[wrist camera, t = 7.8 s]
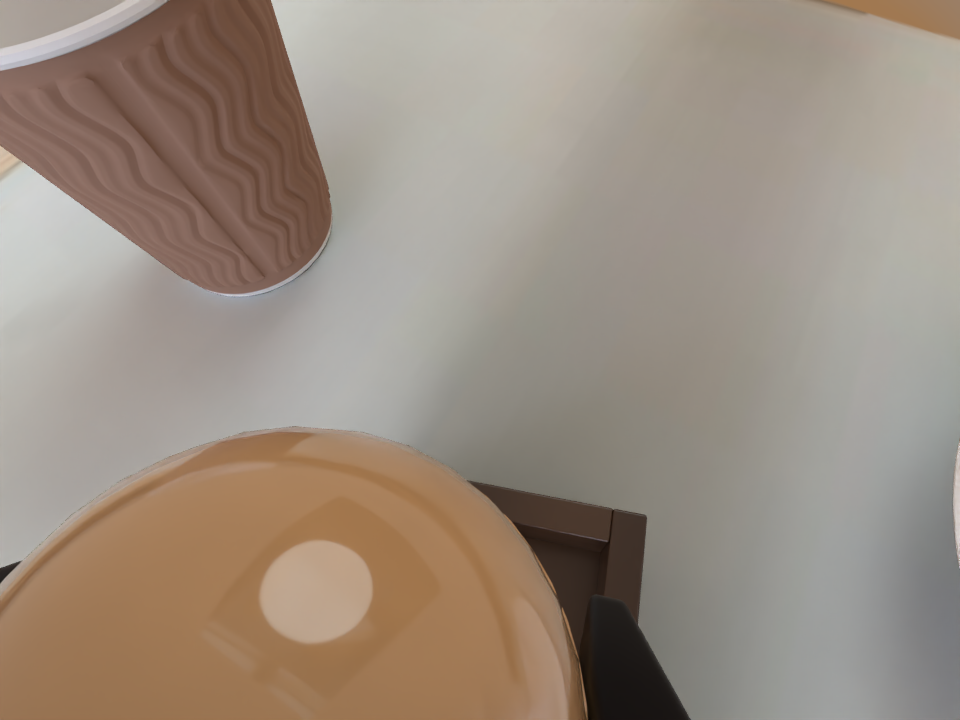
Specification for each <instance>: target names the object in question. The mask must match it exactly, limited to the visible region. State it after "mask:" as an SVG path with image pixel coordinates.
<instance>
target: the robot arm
mask: <svg viewBox="0 0 960 720" xmlns="http://www.w3.org/2000/svg"><path fill="white" fill-rule="evenodd" d="M22 561H23V560H22ZM22 561H19V562H16V563H14V564H11V565H8V566H5V567H2V568H0V584H1V582H2V581H3V580H4V579H5V578H6V577H7V576H8V575H9V574H10V573H11V572H12V571H13V570H14V569H15V568H16V567H17V566H18V565H19V564H20V563H21V562H22ZM579 662H580V667H581V673H582V679H583V685H584V691H585V697H586V703H587V716H588V720H691V719H690V718H689V716H688V714H687V712H686V710H685V709H684V707H683V705H682V703H681V701H680V700H679V698H678V696H677V694H676V692H675V691H674V689H673V687H672V685H671V683H670V682H669V680H668V678H667V676H666V674H665V673H664V671H663V669H662V667H661V666H660V664H659V662H658V660H657V658H656V657H655V655H654V653H653V651H652V649H651V648H650V646H649V644H648V642H647V640H646V639H645V637H644V635H643V633H642V631H641V630H640V628H639V626H638V624H637V622H636V621H635V619H634V617H633V615H632V614H631V612H630V610H629V608H628V606H627V605H626V604H625V603H624V602H623V601H622V600H619V599H615V598H610V597H606V596H601V595H596V594H594V595H592V596H591V597H590V599H589V602H588V607H587V612H586V617H585V623H584V628H583V633H582V639H581V644H580V650H579Z"/></svg>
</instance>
